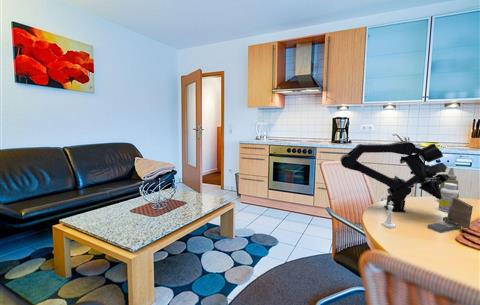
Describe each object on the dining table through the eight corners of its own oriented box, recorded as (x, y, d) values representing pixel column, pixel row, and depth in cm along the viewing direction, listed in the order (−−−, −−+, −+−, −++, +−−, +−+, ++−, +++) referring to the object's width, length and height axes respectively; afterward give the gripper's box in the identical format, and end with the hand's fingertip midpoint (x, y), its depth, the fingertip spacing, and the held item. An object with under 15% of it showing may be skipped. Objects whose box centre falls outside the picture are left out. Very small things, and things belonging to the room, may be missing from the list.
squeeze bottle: (438, 198, 135) (442, 165, 132) (457, 202, 129) (463, 168, 127) (435, 201, 129) (440, 167, 127) (455, 206, 124) (461, 170, 121)
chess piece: (378, 222, 101) (381, 199, 99) (389, 222, 101) (392, 199, 100) (386, 228, 96) (389, 203, 94) (398, 228, 96) (401, 203, 95)
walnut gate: (463, 228, 94) (467, 205, 92) (446, 216, 105) (449, 195, 104) (470, 229, 93) (474, 205, 92) (452, 217, 105) (455, 196, 103)
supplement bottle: (449, 208, 120) (453, 182, 118) (460, 213, 114) (464, 186, 112) (434, 207, 121) (438, 181, 119) (444, 212, 114) (448, 185, 112)
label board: (419, 224, 100) (420, 221, 100) (447, 219, 107) (448, 216, 106) (440, 232, 93) (440, 229, 93) (469, 226, 100) (469, 223, 99)
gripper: (416, 156, 101) (441, 191, 92) (448, 155, 107) (474, 187, 98) (396, 171, 110) (417, 204, 101) (427, 169, 115) (449, 200, 107)
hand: (440, 198), depth 101 cm, fingers closed
